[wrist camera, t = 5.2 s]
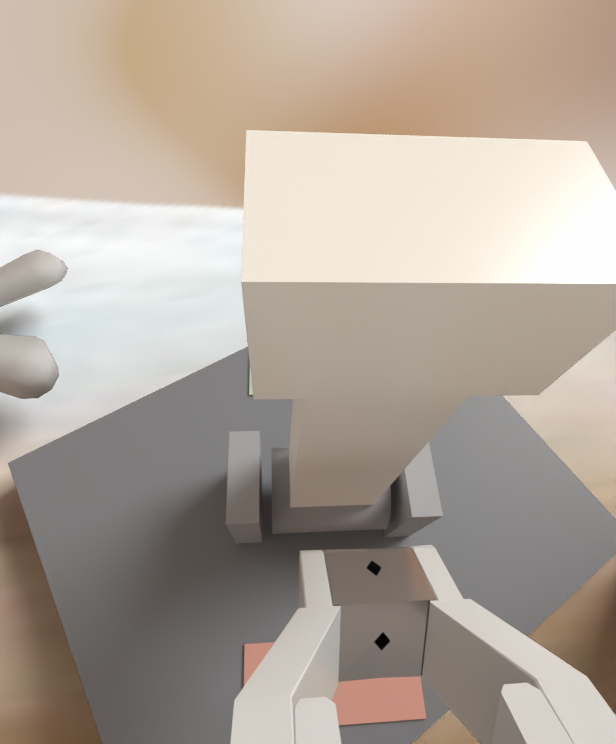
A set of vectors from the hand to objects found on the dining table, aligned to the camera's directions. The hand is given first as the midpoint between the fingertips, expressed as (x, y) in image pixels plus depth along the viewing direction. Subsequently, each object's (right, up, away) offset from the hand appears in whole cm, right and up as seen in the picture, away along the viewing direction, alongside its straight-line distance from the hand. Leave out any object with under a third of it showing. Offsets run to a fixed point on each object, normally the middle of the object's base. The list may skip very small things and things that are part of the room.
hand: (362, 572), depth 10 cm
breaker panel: (-1, -2, +10) cm, 10 cm away
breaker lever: (-1, 0, +8) cm, 8 cm away
